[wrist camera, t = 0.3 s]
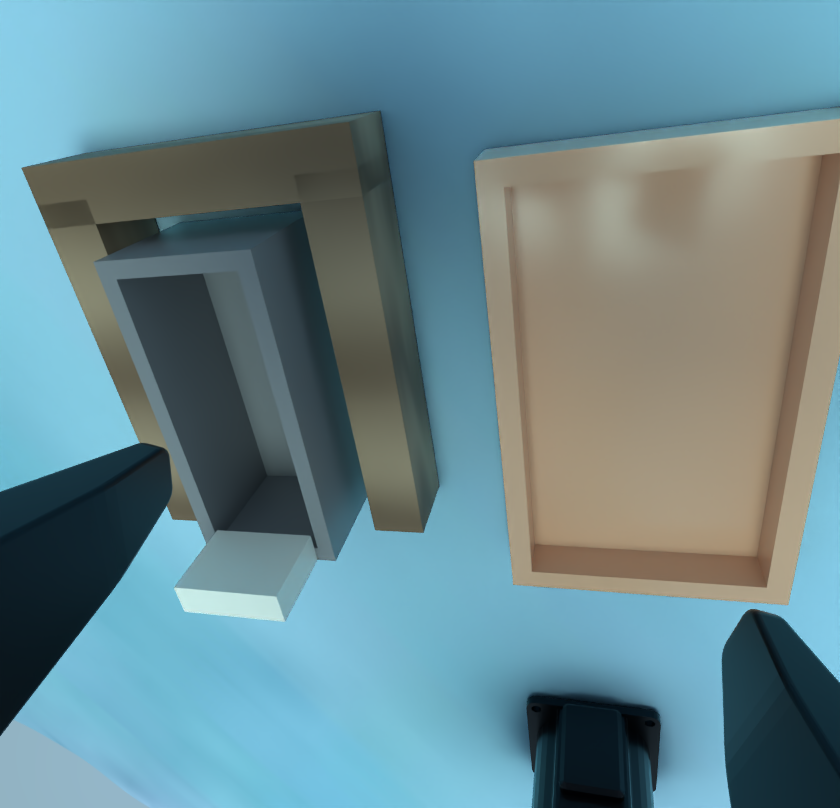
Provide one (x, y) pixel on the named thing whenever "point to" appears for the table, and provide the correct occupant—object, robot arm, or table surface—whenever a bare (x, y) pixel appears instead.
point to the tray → (664, 350)
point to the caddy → (243, 402)
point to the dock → (333, 259)
